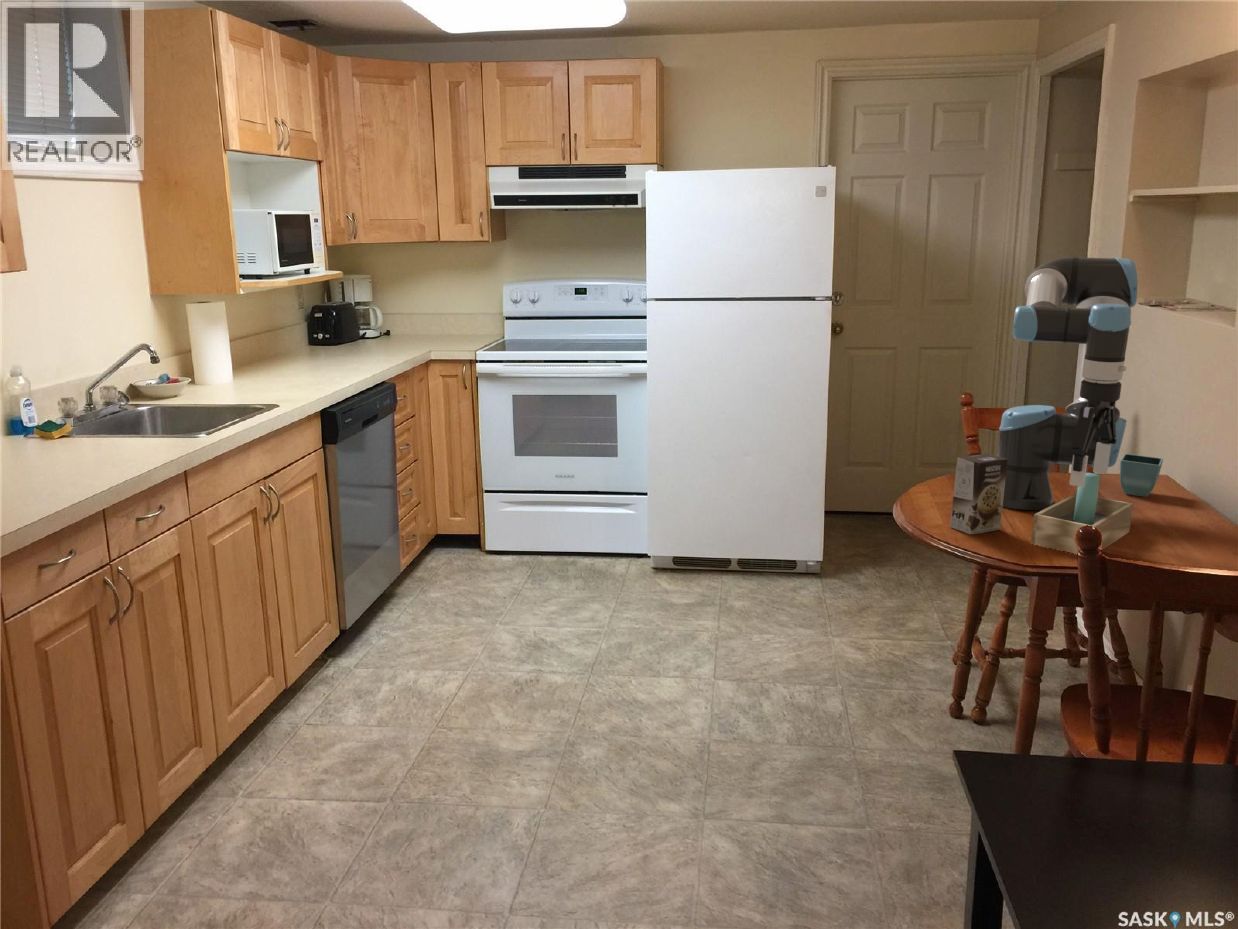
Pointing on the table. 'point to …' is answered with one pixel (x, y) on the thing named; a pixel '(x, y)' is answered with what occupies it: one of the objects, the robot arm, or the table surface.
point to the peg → (1087, 500)
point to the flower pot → (1139, 474)
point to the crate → (1059, 528)
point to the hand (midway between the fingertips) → (1088, 479)
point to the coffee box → (978, 493)
